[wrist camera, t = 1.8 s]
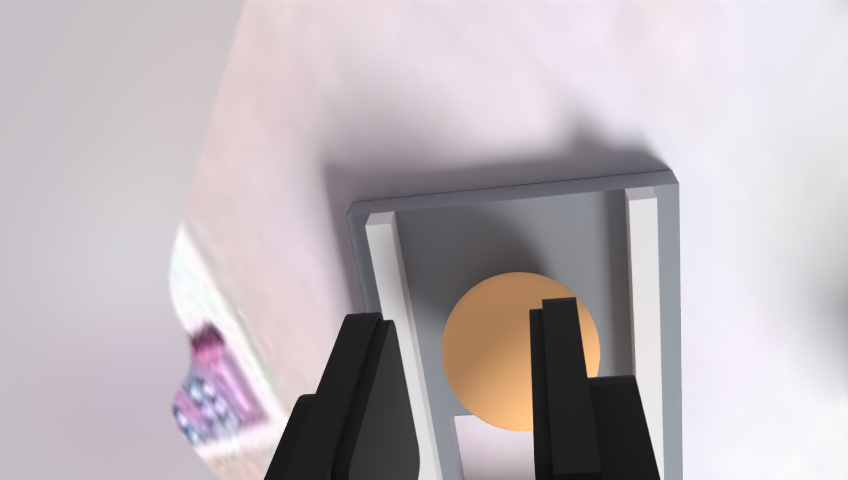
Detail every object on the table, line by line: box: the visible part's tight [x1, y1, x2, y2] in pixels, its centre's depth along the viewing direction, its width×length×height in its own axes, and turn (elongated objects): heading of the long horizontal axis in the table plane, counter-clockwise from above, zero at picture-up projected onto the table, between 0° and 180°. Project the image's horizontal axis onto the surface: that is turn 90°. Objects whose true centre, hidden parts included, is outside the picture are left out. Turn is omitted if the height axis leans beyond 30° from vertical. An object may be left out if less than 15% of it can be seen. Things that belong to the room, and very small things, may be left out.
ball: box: [442, 272, 600, 431], centre depth 29 cm, size 6×6×6 cm
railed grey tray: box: [346, 170, 683, 480], centre depth 33 cm, size 20×13×4 cm, turn 9°
